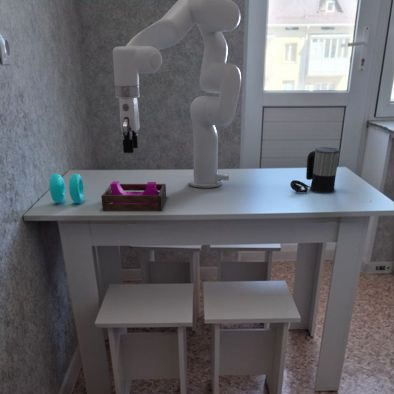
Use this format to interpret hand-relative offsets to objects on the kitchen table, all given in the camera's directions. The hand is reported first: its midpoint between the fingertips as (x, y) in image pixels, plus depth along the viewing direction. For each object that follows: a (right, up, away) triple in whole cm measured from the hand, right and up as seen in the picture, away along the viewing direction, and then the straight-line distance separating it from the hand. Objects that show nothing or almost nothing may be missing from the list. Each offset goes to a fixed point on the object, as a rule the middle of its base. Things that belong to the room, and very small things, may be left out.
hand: (130, 150), depth 163 cm
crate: (0, -15, +10) cm, 18 cm away
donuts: (-24, -14, +11) cm, 30 cm away
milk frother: (+66, -6, +24) cm, 70 cm away
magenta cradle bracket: (0, -15, +10) cm, 18 cm away
